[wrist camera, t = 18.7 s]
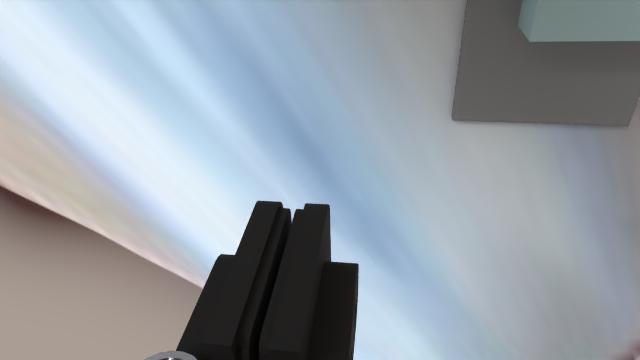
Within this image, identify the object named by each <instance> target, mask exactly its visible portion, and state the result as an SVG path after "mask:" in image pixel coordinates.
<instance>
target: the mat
mask: <svg viewBox="0 0 640 360" xmlns="http://www.w3.org/2000/svg"><path fill="white" fill-rule="evenodd" d="M521 5H522V0H467V6H466V14H465V21H464V28H463V36H462V43H461V51H460V58H459V65H458V73H457V80H456V87H455V95H454V102H453V110H452V120H460V121H491V122H523V123H554V124H585V125H617V126H628V125H629V122H630V120H631V117H632V114H633V111H634V109H635V106H636V103H637V100H638V98H639V95H640V41H555V42H529V40H528V39H527V37H526V36H525V35H524V33H523V32H522V31H521V29H520V28H519V27H518V22H519V16H520V11H521Z"/></svg>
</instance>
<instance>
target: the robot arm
mask: <svg viewBox="0 0 640 360" xmlns="http://www.w3.org/2000/svg"><path fill="white" fill-rule="evenodd" d="M357 301H358V264H356V263H341V262H331V238H330V206H329V205H327V204H308V203H306V204H305V206H304V209H296V211H295V214H294V218H293V221H291V211H290V209H286V208H283V205H282V203H281V202H272V201H257V202H256V204H255V207H254V209H253V212H252V214H251V217H250V219H249V222H248V224H247V227H246V229H245V232H244V234H243V237H242V239H241V242H240V244H239V247H238V249H237V252H236V254H235V255H225V254H221V255H220V256H218V258H217V260H216V261H215V264H214V266H213V268H212V270H211V273H210V275H209V277H208V279H207V282H206V284H205V286H204V288H203V291H202V293H201V295H200V297H199V300H198V302H197V304H196V306H195V309H194V311H193V313H192V315H191V318H190V320H189V322H188V324H187V327H186V329H185V331H184V333H183V336H182V338H181V340H180V343H179V345H178V347H177V349H176V351H167V352H161V353H158V354H156V355H153V356H151V357H149V358H147V359H145V360H353V354H354V342H355V330H356V318H357Z"/></svg>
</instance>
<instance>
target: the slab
mask: <svg viewBox="0 0 640 360" xmlns="http://www.w3.org/2000/svg"><path fill="white" fill-rule="evenodd" d="M518 27H519V28H520V29H521V31H522V32H523V33H524V35H525V36H526V37H527V39H528V40H529V42H555V41H640V0H522V5H521V11H520V16H519V22H518Z"/></svg>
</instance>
